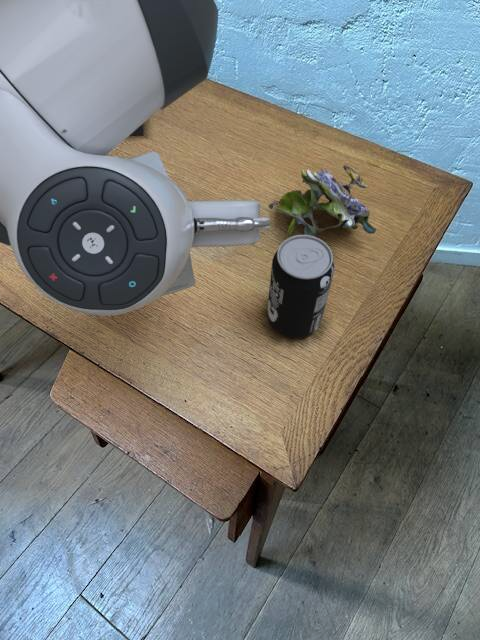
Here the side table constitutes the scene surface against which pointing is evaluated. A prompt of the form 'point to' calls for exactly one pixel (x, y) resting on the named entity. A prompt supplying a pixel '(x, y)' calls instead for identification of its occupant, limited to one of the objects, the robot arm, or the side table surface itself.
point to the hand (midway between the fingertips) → (153, 220)
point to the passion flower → (337, 206)
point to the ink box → (187, 273)
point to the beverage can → (299, 286)
